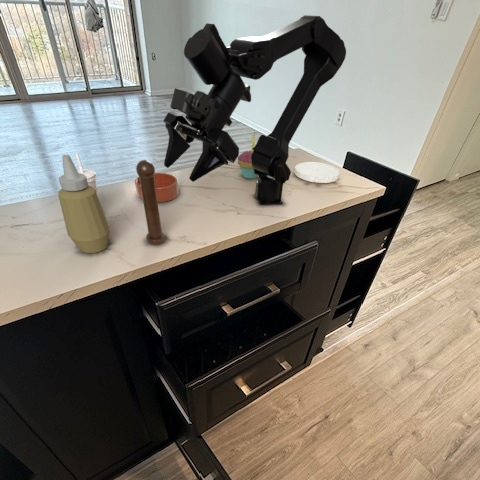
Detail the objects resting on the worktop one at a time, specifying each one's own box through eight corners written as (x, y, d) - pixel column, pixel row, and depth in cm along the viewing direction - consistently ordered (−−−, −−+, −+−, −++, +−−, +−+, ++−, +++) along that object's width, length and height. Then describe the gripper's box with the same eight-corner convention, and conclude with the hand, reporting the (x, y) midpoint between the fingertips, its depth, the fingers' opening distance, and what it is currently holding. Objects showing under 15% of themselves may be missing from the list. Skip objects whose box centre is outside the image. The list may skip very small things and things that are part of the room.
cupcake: (239, 169, 104) (241, 128, 96) (264, 172, 104) (269, 131, 95) (235, 179, 98) (237, 136, 90) (262, 182, 98) (266, 139, 89)
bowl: (177, 186, 92) (175, 172, 89) (179, 202, 85) (178, 187, 82) (138, 187, 90) (135, 173, 87) (137, 204, 83) (134, 189, 80)
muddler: (165, 235, 72) (155, 156, 61) (165, 244, 70) (155, 164, 58) (147, 236, 72) (133, 157, 60) (147, 245, 69) (132, 164, 57)
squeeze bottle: (79, 236, 70) (49, 147, 57) (117, 236, 71) (95, 149, 58) (68, 257, 64) (32, 163, 52) (109, 257, 65) (83, 164, 52)
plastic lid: (312, 189, 96) (314, 180, 94) (285, 173, 104) (286, 165, 102) (346, 182, 101) (348, 173, 99) (318, 167, 109) (319, 159, 108)
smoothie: (97, 222, 75) (79, 159, 65) (72, 218, 76) (51, 155, 66) (111, 210, 79) (96, 149, 70) (87, 207, 80) (69, 146, 70)
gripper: (166, 62, 61) (124, 134, 63) (229, 77, 51) (177, 162, 53) (200, 106, 70) (163, 168, 72) (259, 126, 61) (214, 196, 63)
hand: (177, 173), depth 65 cm, fingers open, 9 cm apart
